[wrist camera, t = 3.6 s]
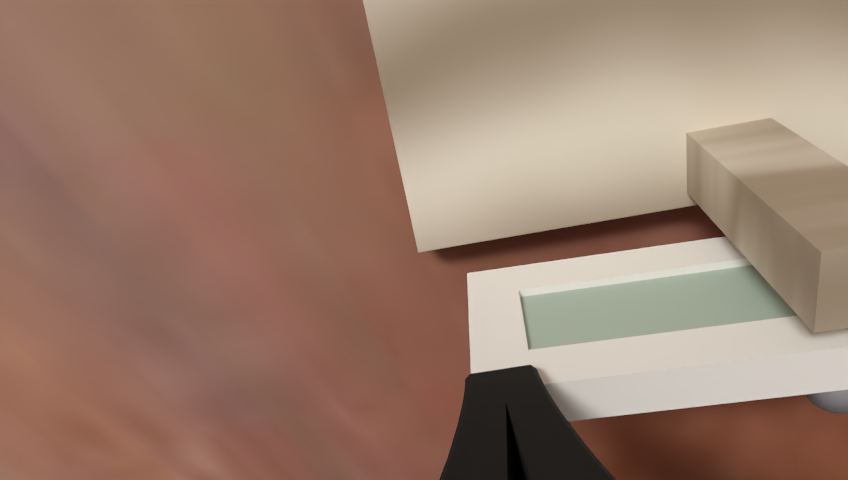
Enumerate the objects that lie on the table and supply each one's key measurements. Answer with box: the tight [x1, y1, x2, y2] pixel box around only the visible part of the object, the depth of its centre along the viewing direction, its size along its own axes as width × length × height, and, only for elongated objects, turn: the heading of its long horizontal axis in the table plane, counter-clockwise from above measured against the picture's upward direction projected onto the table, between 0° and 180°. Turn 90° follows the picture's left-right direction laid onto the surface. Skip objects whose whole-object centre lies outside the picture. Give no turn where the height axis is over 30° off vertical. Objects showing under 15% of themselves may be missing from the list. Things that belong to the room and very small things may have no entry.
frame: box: [467, 236, 848, 421], centre depth 14 cm, size 2×14×4 cm, turn 101°
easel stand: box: [363, 0, 848, 333], centre depth 13 cm, size 9×16×7 cm, turn 101°
